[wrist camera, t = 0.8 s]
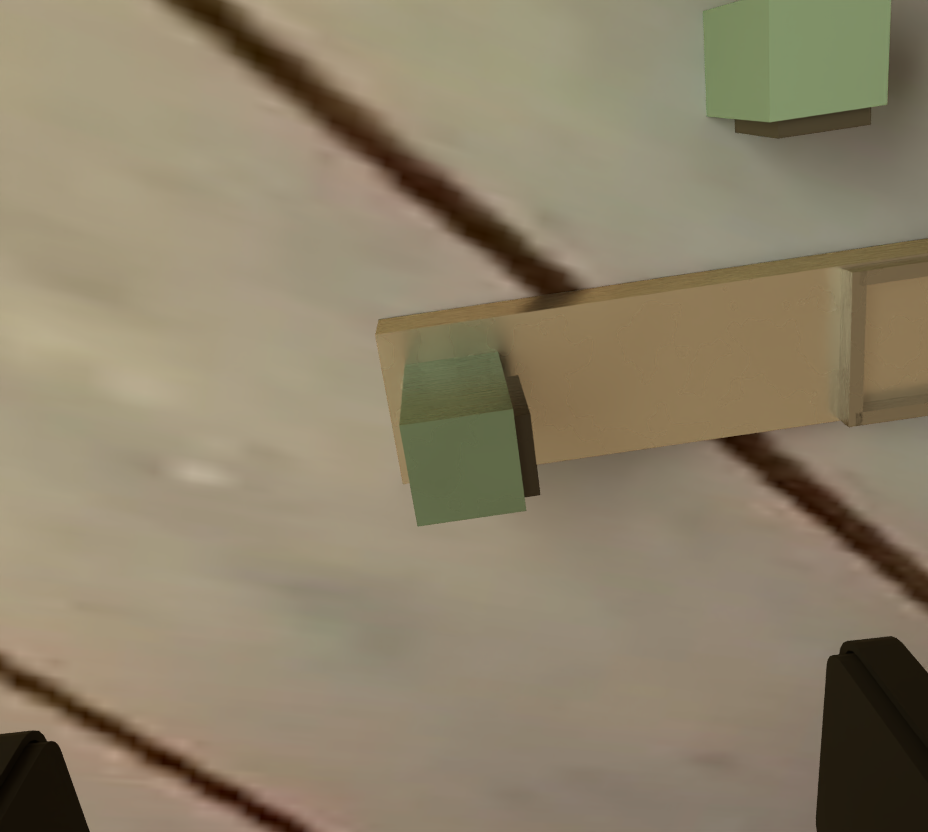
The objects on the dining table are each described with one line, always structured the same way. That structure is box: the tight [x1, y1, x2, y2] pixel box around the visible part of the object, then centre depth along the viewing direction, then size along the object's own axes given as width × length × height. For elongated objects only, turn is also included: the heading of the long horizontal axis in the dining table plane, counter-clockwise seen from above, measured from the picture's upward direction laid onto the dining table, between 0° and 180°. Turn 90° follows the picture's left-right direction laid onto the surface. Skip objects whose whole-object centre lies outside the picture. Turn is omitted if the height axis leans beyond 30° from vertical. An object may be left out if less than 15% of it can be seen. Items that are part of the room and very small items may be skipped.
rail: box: [375, 238, 928, 526], centre depth 34 cm, size 7×26×10 cm, turn 98°
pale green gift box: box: [703, 0, 891, 138], centre depth 31 cm, size 4×5×7 cm
